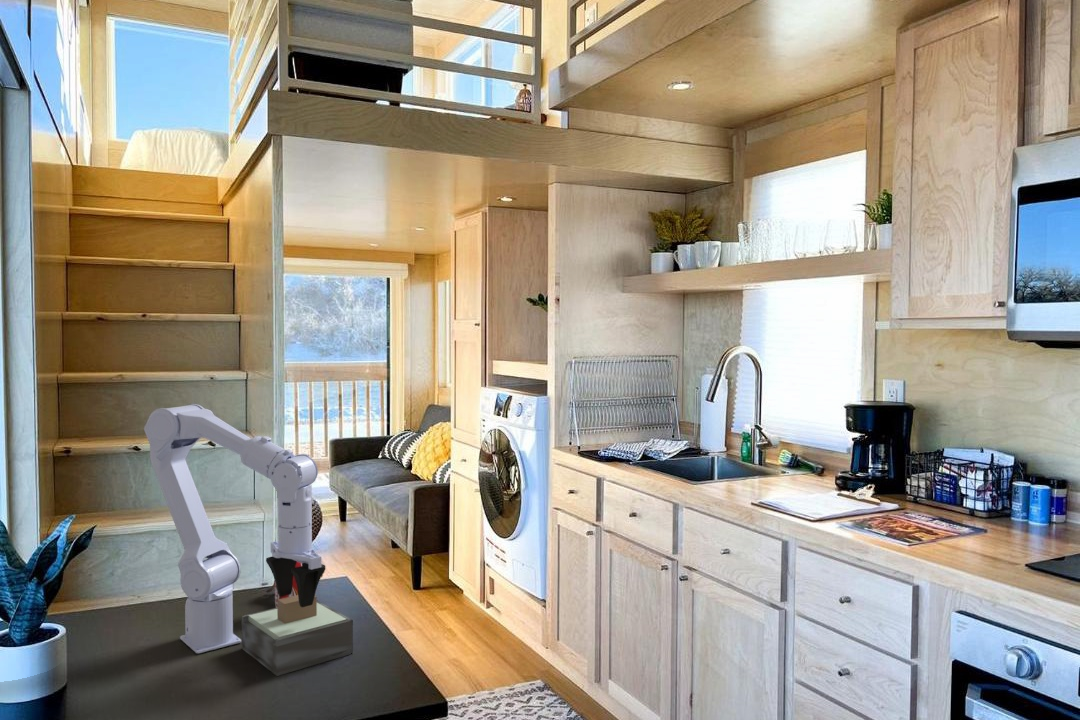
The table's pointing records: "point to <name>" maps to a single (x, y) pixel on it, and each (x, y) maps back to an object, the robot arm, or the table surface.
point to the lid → (293, 618)
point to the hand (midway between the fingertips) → (295, 600)
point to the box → (298, 645)
